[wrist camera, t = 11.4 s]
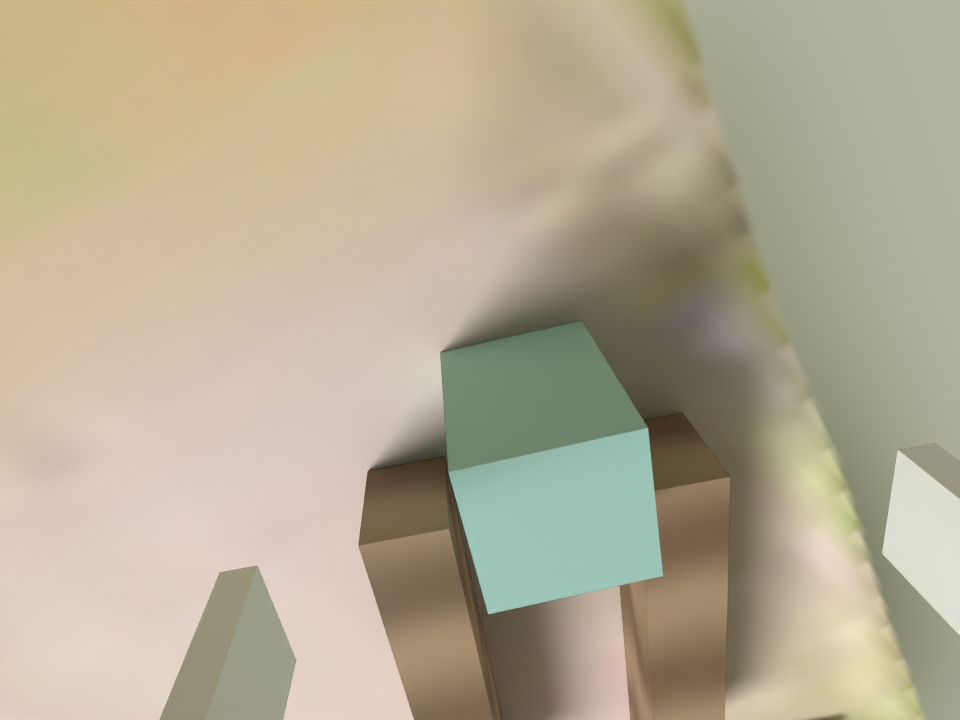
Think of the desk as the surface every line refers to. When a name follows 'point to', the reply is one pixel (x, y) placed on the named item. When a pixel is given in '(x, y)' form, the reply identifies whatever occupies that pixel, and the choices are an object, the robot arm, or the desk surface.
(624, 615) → the parallel wooden bars
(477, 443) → the teal block
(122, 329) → the desk surface
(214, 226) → the desk surface
